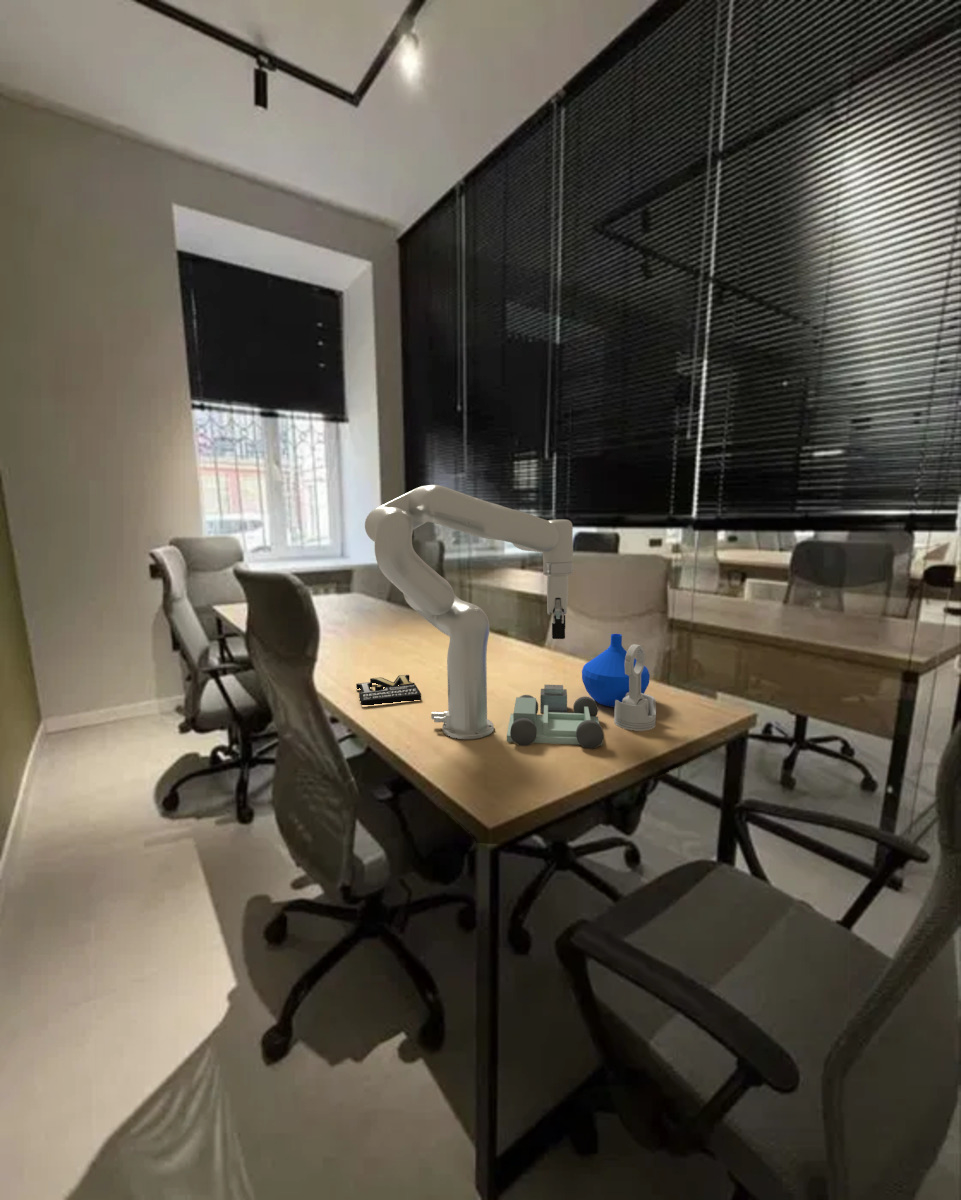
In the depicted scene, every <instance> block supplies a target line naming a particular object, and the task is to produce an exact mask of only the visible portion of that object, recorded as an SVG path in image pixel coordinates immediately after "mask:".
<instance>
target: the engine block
mask: <svg viewBox="0 0 961 1200" xmlns="http://www.w3.org/2000/svg"><path fill="white" fill-rule="evenodd" d="M543 687H544V688H540V699H539V700H540V701H539V704H540V707H539V708H540V714H544V705H548V712H557V713H568V690H567V688H564V684H544V686H543Z"/></svg>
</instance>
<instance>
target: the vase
mask: <svg viewBox="0 0 961 1200" xmlns="http://www.w3.org/2000/svg"><path fill="white" fill-rule="evenodd" d="M622 640H623V635H622V634H621V633H612V634H610V645H609V646H608V648H607V649H605V650H603V651H602V652H601V653H599V654H598V655H596V656H595V657H594V658H592V659H591V660H589V661H588V662H586V663H584V665H583V667H582V670H581V681H582V682H583V686H584V688H585V690H586V692H587V693H588V695H589V697H590V698H592V699H593V700H594V701H595V702H596V703H598V704H600V705H602V706H605V707H610V708H615V700H618V701H619V702H622V700H623V698H624V697H626V694H627V693H628V692H629V676H628V675H626V674H625V657H626V653H627V651H628V650H625V648H624V646H623V643H622V642H623V641H622ZM635 664H636V657H635V658H634V667H635ZM649 684H650V672H649V669H648V667H647V666H646V665H644V668H643V671H642V673H641V693H643V694H646V691H647V688H648V686H649Z"/></svg>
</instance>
